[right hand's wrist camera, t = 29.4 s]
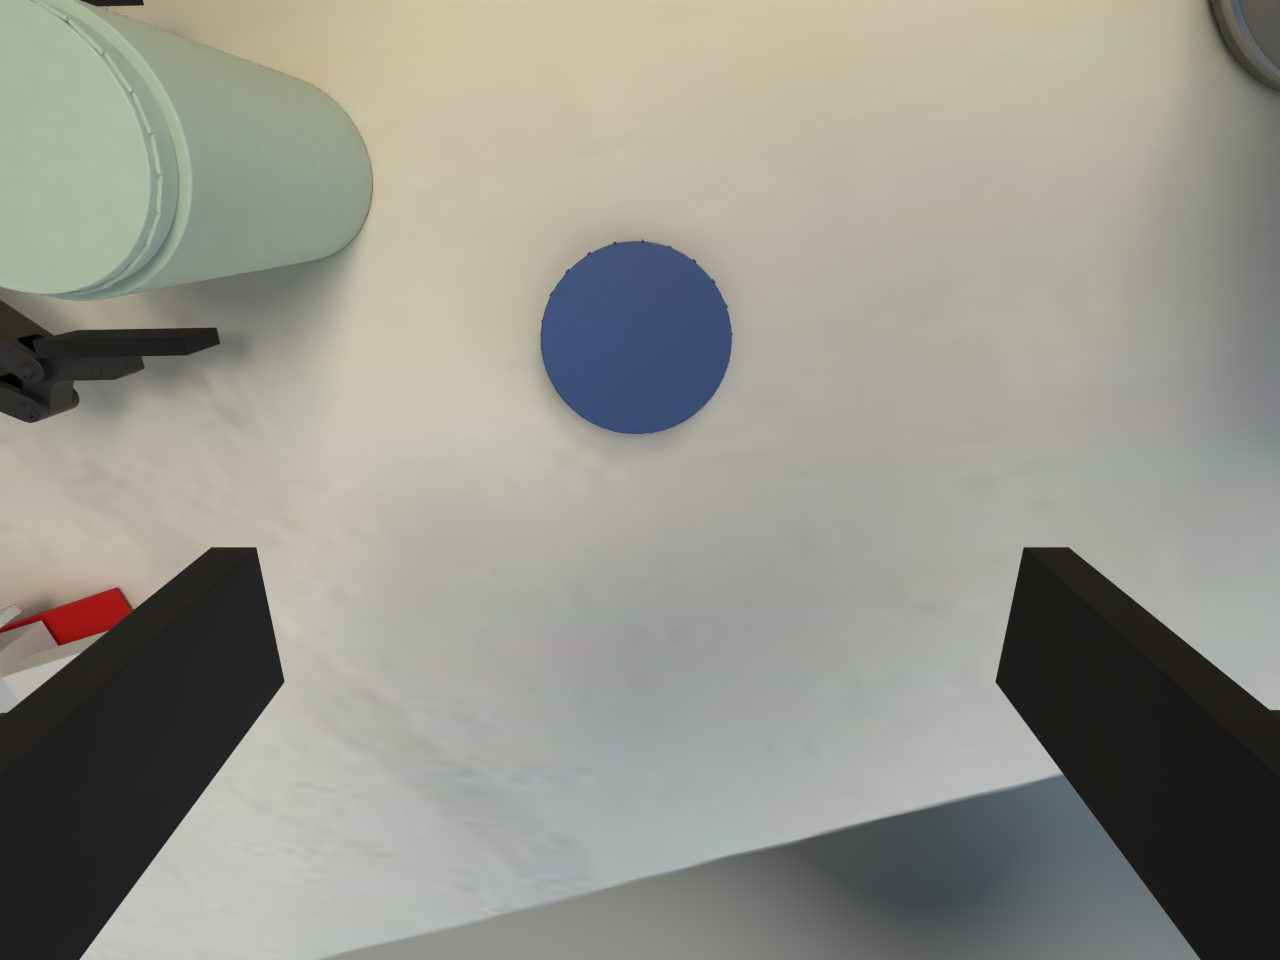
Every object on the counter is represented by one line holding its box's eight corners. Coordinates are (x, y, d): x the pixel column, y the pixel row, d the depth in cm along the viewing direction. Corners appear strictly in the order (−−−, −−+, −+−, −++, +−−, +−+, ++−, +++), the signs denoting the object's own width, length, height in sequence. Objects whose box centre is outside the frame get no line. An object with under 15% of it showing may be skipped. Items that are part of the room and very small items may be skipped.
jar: (333, 293, 38) (111, 360, 22) (173, 203, 36) (-189, 204, 21) (401, 139, 35) (205, 89, 19) (232, 34, 34) (-131, -114, 18)
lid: (595, 203, 36) (593, 203, 35) (764, 299, 38) (769, 303, 37) (512, 374, 40) (507, 380, 38) (672, 456, 41) (674, 465, 40)
